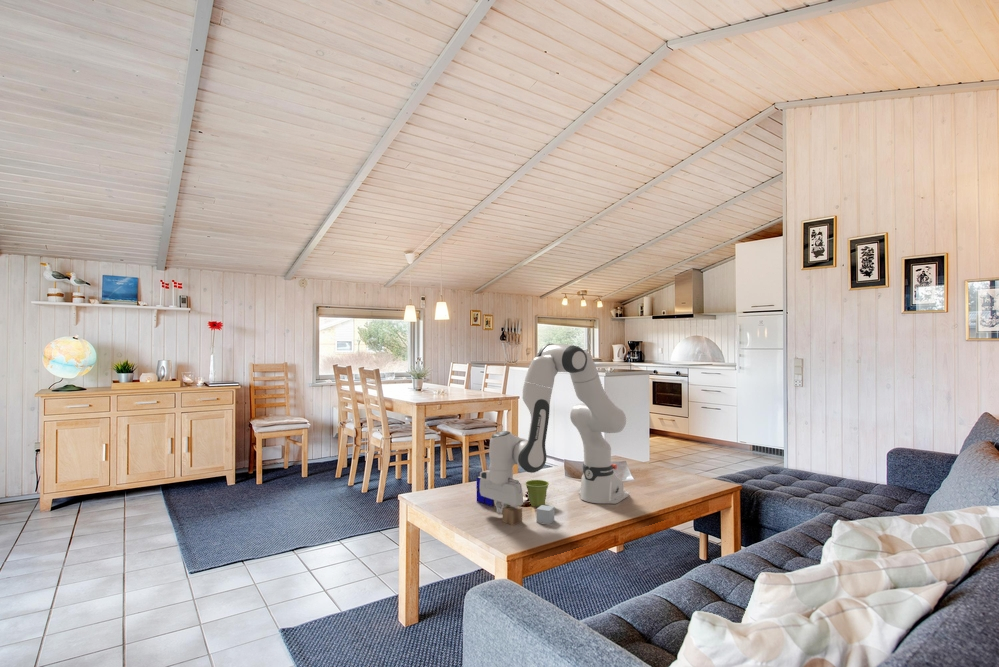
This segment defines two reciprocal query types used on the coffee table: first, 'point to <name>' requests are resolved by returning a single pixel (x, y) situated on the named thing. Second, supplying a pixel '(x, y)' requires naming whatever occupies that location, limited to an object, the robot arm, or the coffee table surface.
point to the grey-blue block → (545, 514)
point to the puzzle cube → (482, 498)
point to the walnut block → (512, 515)
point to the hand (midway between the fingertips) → (500, 513)
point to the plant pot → (537, 492)
